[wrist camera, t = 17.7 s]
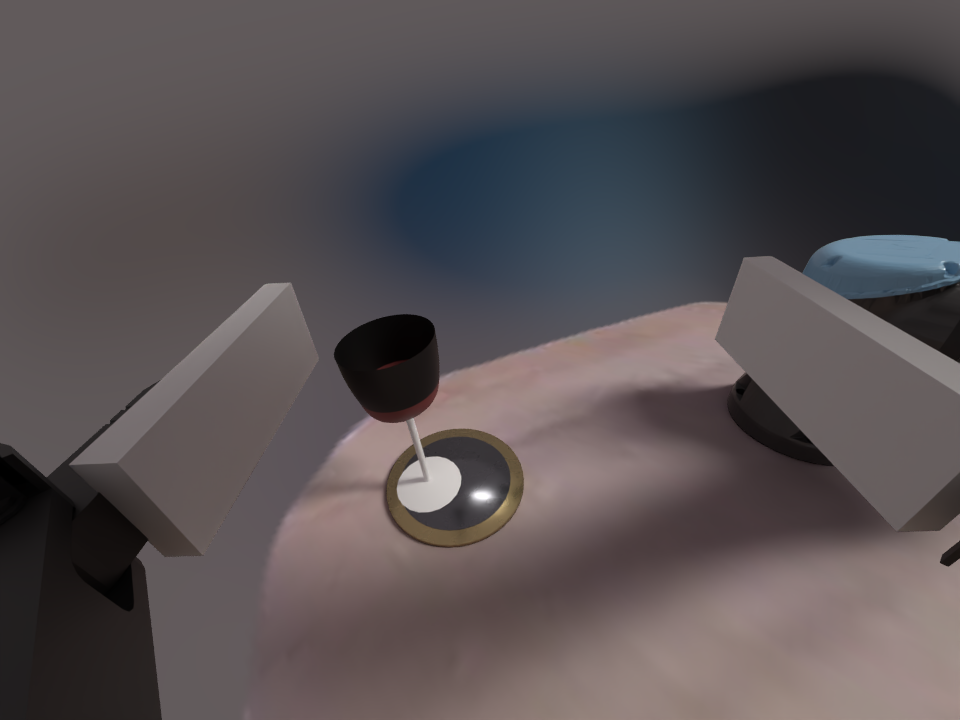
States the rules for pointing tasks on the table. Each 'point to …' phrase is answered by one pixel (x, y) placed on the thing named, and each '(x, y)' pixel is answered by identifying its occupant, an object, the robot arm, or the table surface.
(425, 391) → the wineglass
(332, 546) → the table surface
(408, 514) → the coaster
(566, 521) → the table surface
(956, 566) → the table surface
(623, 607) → the table surface
